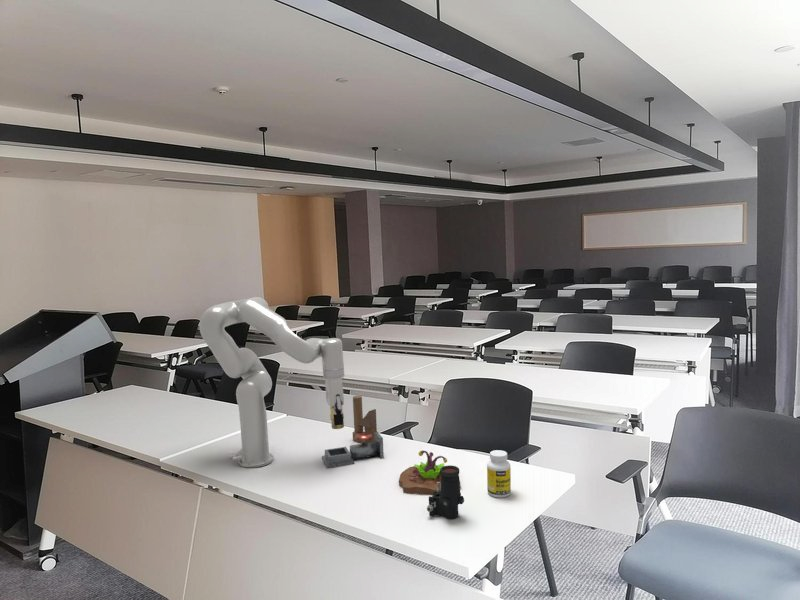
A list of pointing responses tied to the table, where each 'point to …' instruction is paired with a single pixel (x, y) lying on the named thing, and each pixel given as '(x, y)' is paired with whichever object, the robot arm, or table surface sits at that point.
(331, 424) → the cylinder
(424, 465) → the plant
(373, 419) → the wooden block
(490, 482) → the supplement bottle
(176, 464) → the table surface
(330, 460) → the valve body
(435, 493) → the scope
